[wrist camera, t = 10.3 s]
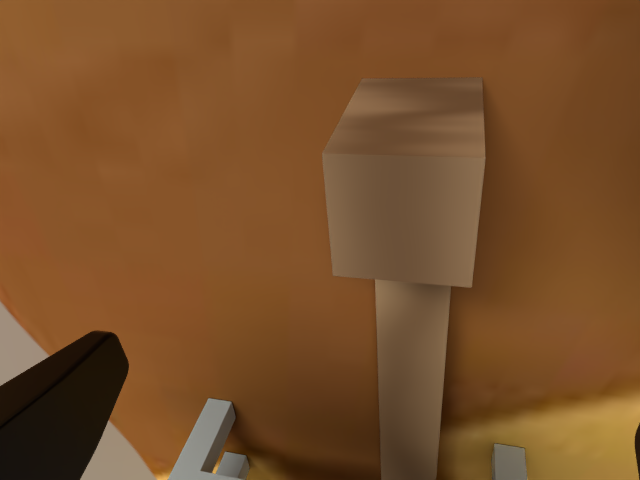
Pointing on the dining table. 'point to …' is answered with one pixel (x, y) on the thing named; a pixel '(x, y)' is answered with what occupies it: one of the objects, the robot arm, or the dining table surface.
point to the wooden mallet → (408, 239)
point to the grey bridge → (206, 445)
